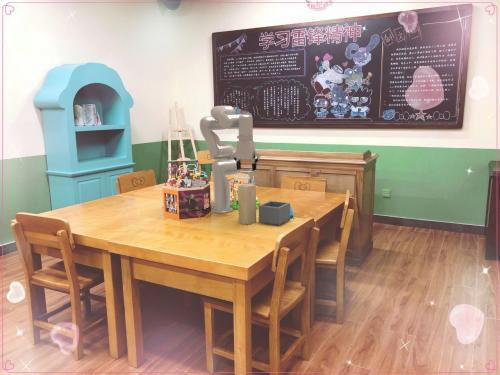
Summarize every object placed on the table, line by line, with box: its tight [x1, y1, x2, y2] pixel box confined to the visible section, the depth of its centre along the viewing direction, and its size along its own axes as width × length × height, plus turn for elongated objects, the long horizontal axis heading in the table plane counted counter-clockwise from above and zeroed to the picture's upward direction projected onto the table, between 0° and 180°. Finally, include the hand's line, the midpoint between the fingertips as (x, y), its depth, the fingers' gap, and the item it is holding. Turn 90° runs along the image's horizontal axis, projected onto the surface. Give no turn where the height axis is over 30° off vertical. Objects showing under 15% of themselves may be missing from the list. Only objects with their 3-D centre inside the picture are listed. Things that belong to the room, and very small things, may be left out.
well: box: [258, 200, 291, 227], centre depth 229 cm, size 12×13×10 cm
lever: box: [290, 205, 294, 220], centre depth 245 cm, size 7×7×18 cm
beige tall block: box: [237, 183, 257, 226], centre depth 228 cm, size 8×7×21 cm
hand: (246, 170), depth 224 cm, fingers open, 9 cm apart
